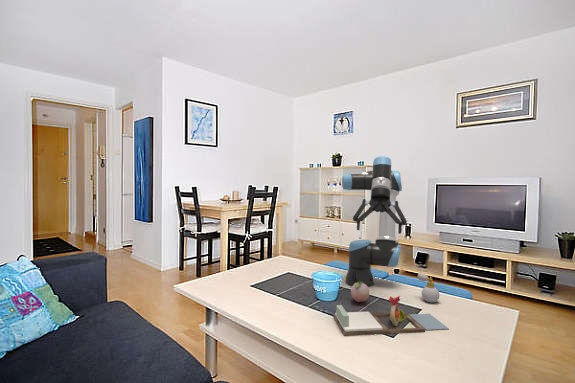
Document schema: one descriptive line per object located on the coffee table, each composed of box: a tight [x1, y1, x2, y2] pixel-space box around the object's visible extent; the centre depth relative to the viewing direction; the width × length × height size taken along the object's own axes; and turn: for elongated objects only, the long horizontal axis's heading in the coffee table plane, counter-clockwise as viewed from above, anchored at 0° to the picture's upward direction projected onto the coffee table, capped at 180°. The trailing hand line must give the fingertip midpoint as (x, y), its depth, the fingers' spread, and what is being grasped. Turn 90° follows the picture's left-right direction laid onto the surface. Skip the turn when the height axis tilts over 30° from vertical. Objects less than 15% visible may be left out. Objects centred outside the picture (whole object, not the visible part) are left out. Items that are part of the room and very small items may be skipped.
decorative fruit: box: [350, 281, 370, 303], centre depth 139 cm, size 9×8×10 cm
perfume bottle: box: [417, 272, 440, 304], centre depth 141 cm, size 8×10×12 cm
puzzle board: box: [333, 311, 426, 337], centre depth 118 cm, size 15×30×1 cm, turn 96°
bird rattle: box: [388, 295, 407, 327], centre depth 118 cm, size 6×11×9 cm
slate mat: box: [408, 313, 450, 332], centre depth 120 cm, size 13×9×1 cm
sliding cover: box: [334, 304, 383, 332], centre depth 117 cm, size 14×14×5 cm
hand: (378, 239), depth 117 cm, fingers open, 13 cm apart
